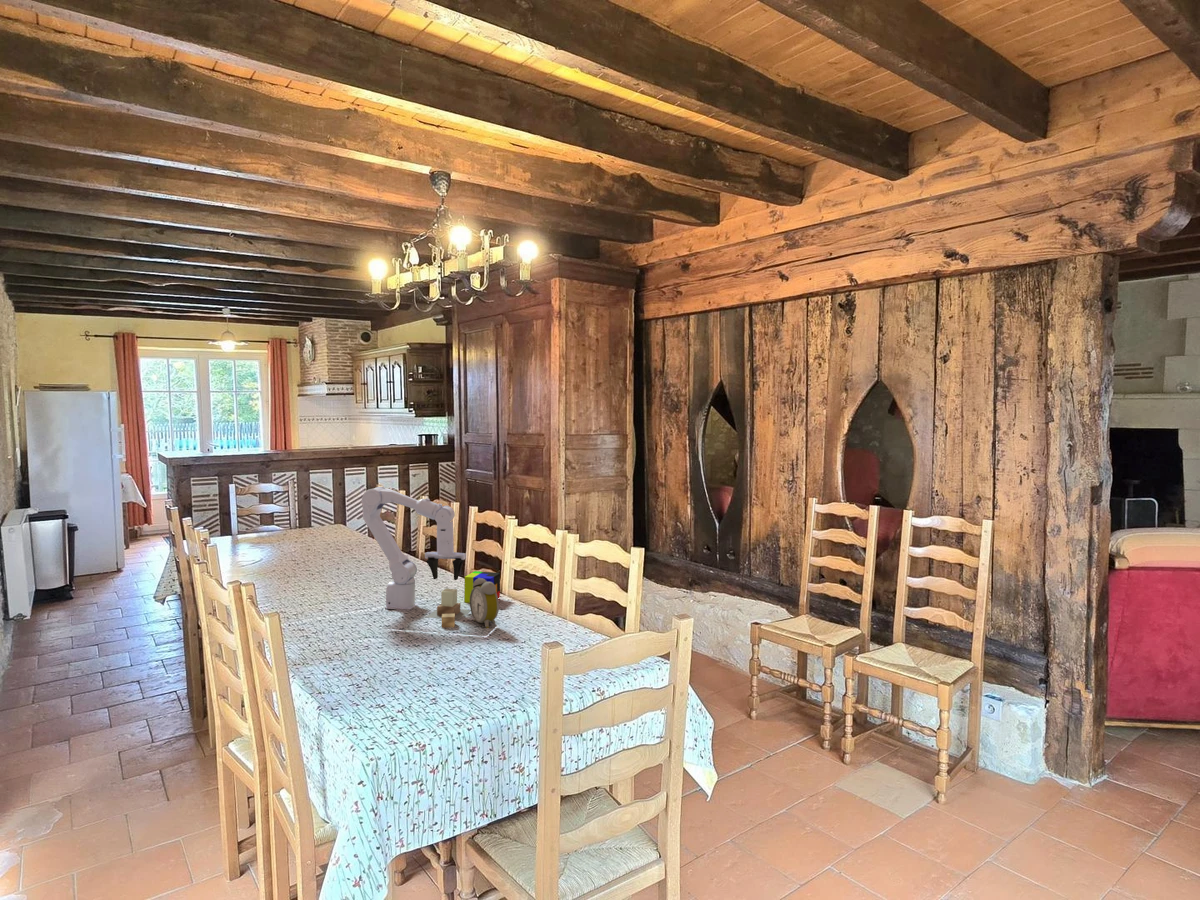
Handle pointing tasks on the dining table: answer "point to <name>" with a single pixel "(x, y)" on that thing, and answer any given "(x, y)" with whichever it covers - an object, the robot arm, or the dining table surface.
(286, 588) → the dining table surface
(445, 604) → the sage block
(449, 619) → the ochre block
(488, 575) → the puzzle toy
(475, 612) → the alarm clock
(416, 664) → the dining table surface
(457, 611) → the base block
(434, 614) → the build board
